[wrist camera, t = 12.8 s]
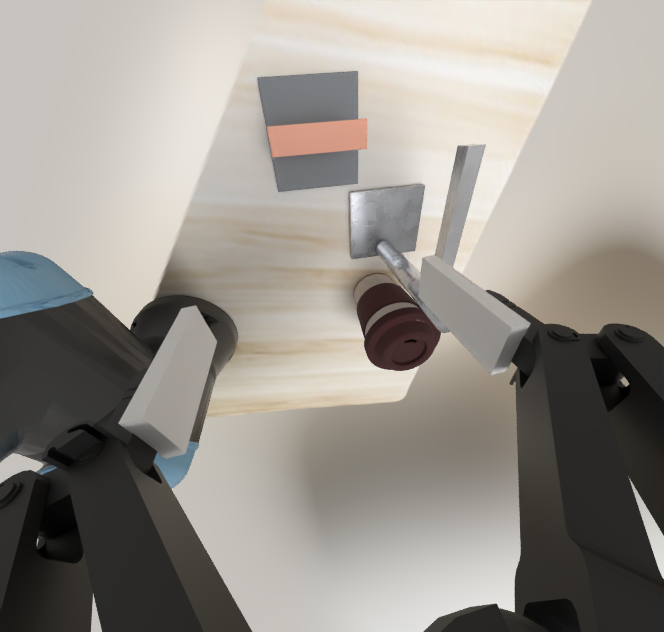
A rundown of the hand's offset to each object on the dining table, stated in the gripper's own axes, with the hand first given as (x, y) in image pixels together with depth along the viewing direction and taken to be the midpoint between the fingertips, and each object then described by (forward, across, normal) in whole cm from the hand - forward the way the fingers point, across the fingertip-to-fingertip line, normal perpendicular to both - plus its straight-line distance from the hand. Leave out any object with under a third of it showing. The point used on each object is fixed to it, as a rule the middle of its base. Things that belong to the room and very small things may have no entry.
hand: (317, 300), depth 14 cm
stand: (+22, +13, -1) cm, 25 cm away
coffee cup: (+22, +11, -15) cm, 29 cm away
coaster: (+22, +4, +7) cm, 23 cm away
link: (+21, +4, +7) cm, 23 cm away
